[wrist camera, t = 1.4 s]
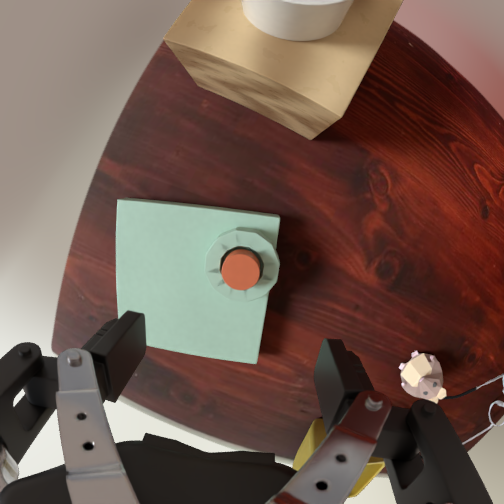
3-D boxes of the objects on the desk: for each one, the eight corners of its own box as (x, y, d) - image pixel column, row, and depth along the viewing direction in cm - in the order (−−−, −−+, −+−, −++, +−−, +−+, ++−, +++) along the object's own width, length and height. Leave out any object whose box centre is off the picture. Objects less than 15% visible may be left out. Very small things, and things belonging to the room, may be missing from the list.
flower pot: (284, 447, 32) (287, 500, 23) (303, 406, 30) (312, 465, 21) (343, 449, 32) (355, 497, 24) (369, 408, 30) (389, 461, 21)
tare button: (225, 246, 22) (223, 251, 21) (262, 251, 22) (262, 256, 21) (222, 280, 23) (219, 287, 21) (257, 285, 23) (257, 292, 21)
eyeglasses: (487, 418, 32) (499, 434, 27) (405, 455, 33) (414, 476, 28) (514, 351, 28) (531, 366, 23) (426, 390, 29) (441, 414, 25)
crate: (197, 86, 22) (162, 38, 12) (256, 1, 19) (253, -65, 10) (310, 140, 23) (342, 117, 13) (361, 49, 20) (404, -1, 11)
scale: (126, 197, 25) (108, 201, 21) (283, 215, 25) (286, 221, 21) (127, 330, 28) (113, 347, 25) (260, 353, 28) (260, 374, 25)
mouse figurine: (419, 397, 30) (438, 430, 23) (390, 373, 29) (411, 410, 22) (447, 370, 29) (471, 400, 22) (422, 342, 28) (449, 375, 21)
